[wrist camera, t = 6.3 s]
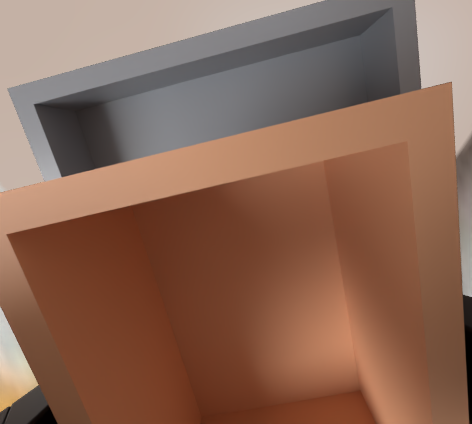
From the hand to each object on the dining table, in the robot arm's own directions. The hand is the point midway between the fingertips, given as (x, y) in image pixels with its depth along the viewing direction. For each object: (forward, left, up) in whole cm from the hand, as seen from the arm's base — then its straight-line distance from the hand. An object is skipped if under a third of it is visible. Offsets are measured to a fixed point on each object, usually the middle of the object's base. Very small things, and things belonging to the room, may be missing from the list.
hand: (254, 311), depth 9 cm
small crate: (0, 0, -1) cm, 1 cm away
